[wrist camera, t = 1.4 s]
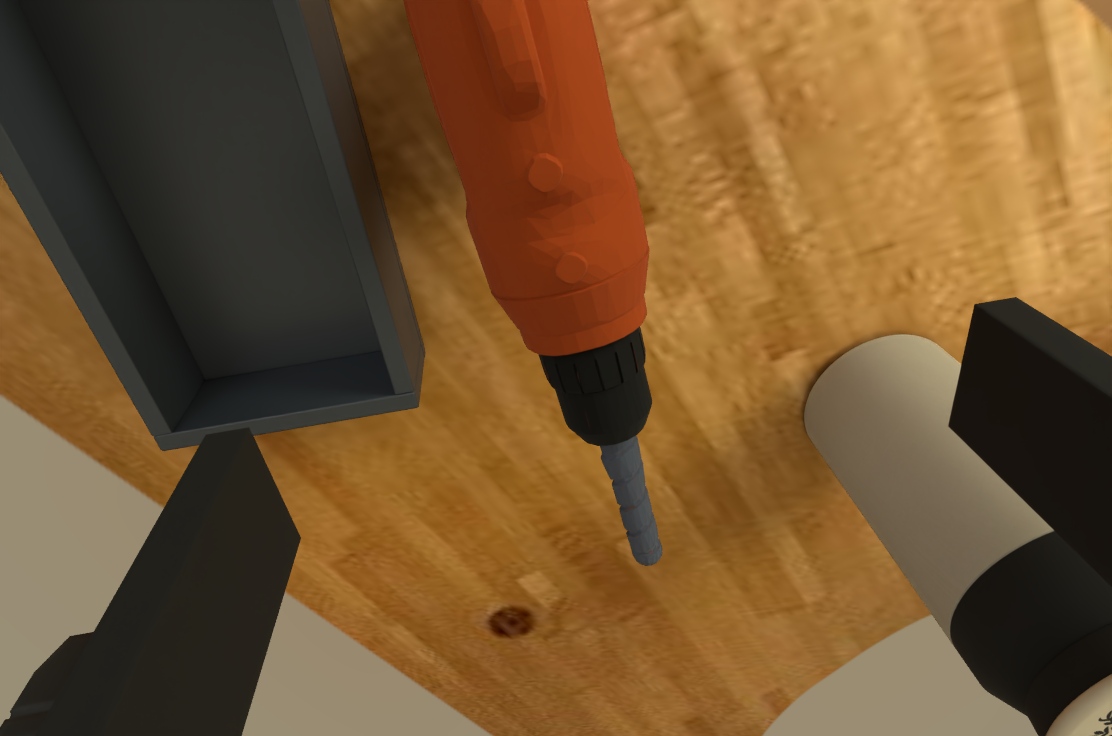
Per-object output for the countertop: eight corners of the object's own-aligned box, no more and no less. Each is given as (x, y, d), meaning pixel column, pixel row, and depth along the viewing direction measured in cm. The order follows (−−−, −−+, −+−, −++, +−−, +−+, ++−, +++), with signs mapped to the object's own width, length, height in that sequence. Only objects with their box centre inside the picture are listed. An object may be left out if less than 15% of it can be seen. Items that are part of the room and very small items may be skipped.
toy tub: (-178, -358, 18) (-356, -444, 14) (214, -415, 18) (146, -514, 14) (199, 390, 31) (161, 452, 27) (425, 351, 31) (419, 408, 28)
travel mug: (790, 461, 38) (1008, 809, 22) (814, 337, 33) (1104, 661, 18) (926, 448, 38) (1229, 778, 23) (967, 324, 34) (1372, 628, 19)
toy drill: (549, 401, 32) (584, 656, 18) (407, -46, 24) (282, -183, 10) (649, 373, 32) (759, 611, 18) (538, -88, 24) (587, -283, 10)
